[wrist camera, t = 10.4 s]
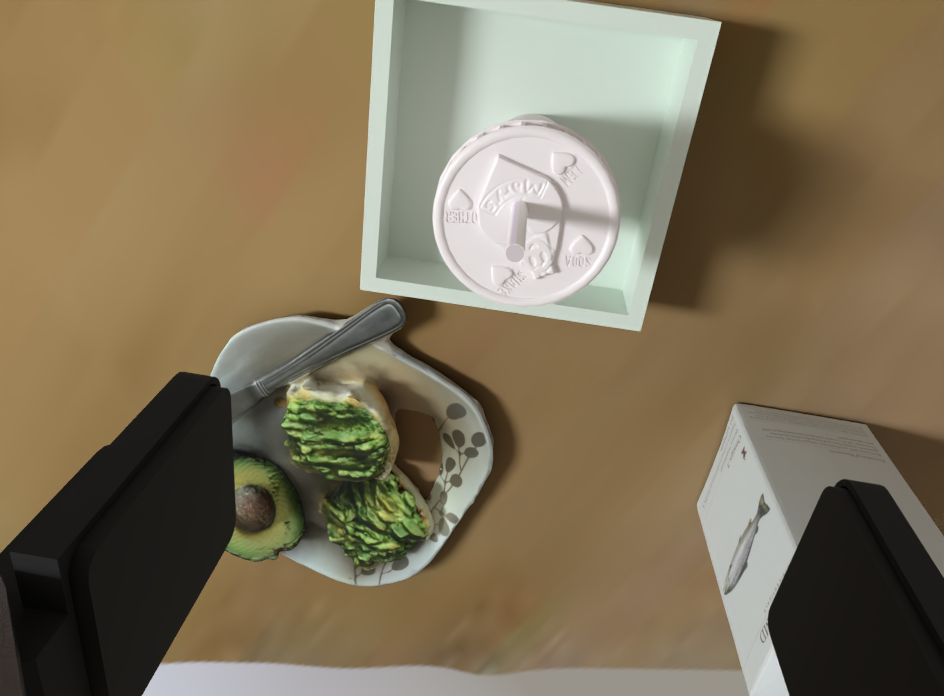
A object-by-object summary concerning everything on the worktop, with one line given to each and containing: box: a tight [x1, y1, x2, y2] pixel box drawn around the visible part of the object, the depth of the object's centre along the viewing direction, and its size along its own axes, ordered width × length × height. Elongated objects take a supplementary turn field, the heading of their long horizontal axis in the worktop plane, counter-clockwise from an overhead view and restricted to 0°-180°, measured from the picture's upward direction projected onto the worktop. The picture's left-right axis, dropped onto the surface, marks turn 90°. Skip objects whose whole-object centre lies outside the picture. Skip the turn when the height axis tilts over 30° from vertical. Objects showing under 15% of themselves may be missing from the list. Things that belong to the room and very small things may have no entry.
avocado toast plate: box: [210, 298, 494, 587], centre depth 40 cm, size 19×18×5 cm
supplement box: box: [697, 403, 944, 696], centre depth 34 cm, size 7×7×13 cm
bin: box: [360, 0, 722, 331], centre depth 31 cm, size 13×13×4 cm
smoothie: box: [432, 114, 621, 307], centre depth 26 cm, size 6×6×14 cm
